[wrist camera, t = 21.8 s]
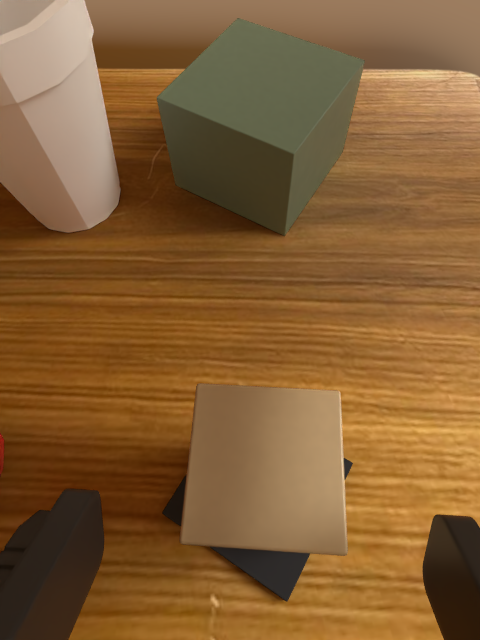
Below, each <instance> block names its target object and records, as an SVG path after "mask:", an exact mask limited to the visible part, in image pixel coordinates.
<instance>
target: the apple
mask: <svg viewBox="0 0 480 640" xmlns="http://www.w3.org/2000/svg"><path fill="white" fill-rule="evenodd" d="M3 462H4V439H3V437H2V435H1V433H0V476H1V473H2V470H3Z"/></svg>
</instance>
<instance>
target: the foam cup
mask: <svg viewBox="0 0 480 640" xmlns="http://www.w3.org/2000/svg"><path fill="white" fill-rule="evenodd" d="M93 32H94V30H93V27H92V23H91V20H90V17H89V14H88V11H87V8H86V5H85V1H84V0H0V182H1V183H2V184H3V185H4V186H5V188H6V189H7V190H8V191H9V192H10V193H11V194H12V195H13V196H14V197H15V198H16V199H17V200H18V201H19V202H20V203H21V204H22V205H23V206H24V207H25V208H26V209H27V210H28V211H29V212H30V213H31V214H32V215H33V216H34V217H35V218H36V219H37V220H38V221H39V222H41V223H42V224H43V225H45V226H46V227H47V228H48V229H51V230H56V231H61V232H66V233H70V232H76V231H81V230H87V229H90V228H92V227H94V226H95V225H97V224H99V223H101V222H102V221H104V220H106V219H107V218H108V217H109V216H110V214H111V213H112V212H113V210H114V209H115V208H116V207H117V205H118V203H119V197H120V191H121V188H120V186H119V184H120V181H119V176H118V171H117V166H116V161H115V156H114V151H113V146H112V141H111V136H110V131H109V126H108V121H107V116H106V111H105V105H104V100H103V95H102V90H101V85H100V80H99V75H98V70H97V65H96V60H95V55H94V50H93V45H92V40H91V39H92V36H93Z"/></svg>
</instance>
